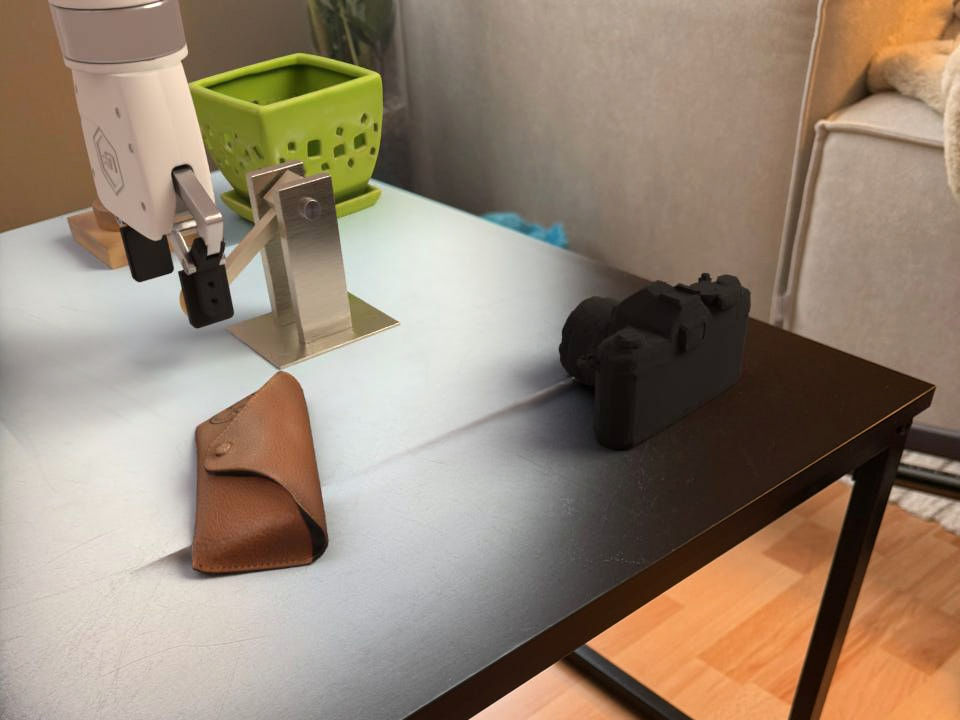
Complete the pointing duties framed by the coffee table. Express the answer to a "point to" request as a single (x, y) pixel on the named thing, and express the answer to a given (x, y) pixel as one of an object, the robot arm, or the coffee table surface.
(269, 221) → the switch lever
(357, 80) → the flower pot
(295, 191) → the switch bracket
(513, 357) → the coffee table surface
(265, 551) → the sunglasses case
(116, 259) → the button block
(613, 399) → the film camera
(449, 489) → the coffee table surface
